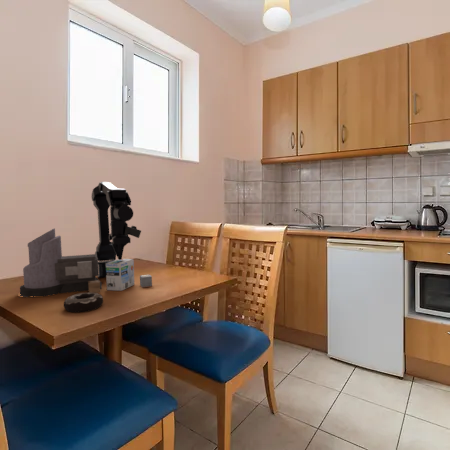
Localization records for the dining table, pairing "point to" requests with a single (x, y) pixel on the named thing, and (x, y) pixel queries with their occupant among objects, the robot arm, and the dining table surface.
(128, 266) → the light bulb box
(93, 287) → the walnut marked block
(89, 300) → the donut
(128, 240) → the robot arm
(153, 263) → the dining table surface
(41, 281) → the grey boxy piece
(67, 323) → the dining table surface
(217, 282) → the dining table surface
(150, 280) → the grey marked block
